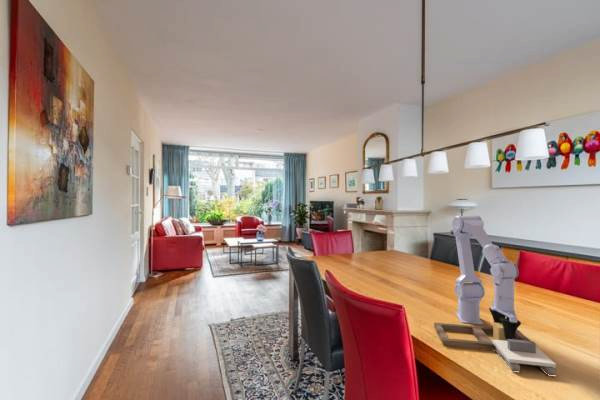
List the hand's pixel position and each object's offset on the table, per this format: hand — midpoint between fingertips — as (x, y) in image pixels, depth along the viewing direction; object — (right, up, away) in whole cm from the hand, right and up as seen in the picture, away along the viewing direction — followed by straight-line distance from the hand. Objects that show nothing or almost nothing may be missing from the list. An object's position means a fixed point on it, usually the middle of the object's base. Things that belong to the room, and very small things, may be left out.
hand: (503, 334), depth 102 cm
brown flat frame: (-8, -3, -4) cm, 10 cm away
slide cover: (-3, -1, -12) cm, 12 cm away
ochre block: (0, -3, 0) cm, 3 cm away
